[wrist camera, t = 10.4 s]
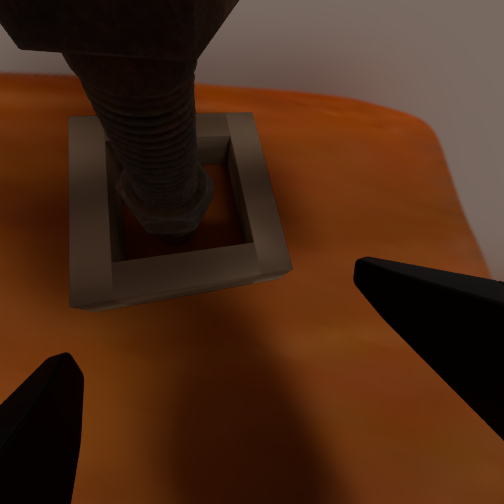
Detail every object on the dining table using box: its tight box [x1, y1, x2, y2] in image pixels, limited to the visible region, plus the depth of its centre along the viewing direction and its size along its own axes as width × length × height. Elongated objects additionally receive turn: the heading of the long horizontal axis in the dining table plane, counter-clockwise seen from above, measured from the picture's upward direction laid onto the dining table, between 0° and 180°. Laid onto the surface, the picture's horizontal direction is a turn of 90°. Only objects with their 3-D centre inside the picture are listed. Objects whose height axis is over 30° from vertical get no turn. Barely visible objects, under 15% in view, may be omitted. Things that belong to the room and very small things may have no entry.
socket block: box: [69, 112, 293, 312], centre depth 17 cm, size 12×12×3 cm
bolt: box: [0, 0, 239, 243], centre depth 11 cm, size 6×5×15 cm
